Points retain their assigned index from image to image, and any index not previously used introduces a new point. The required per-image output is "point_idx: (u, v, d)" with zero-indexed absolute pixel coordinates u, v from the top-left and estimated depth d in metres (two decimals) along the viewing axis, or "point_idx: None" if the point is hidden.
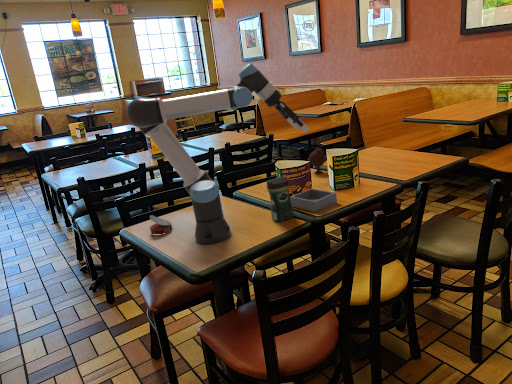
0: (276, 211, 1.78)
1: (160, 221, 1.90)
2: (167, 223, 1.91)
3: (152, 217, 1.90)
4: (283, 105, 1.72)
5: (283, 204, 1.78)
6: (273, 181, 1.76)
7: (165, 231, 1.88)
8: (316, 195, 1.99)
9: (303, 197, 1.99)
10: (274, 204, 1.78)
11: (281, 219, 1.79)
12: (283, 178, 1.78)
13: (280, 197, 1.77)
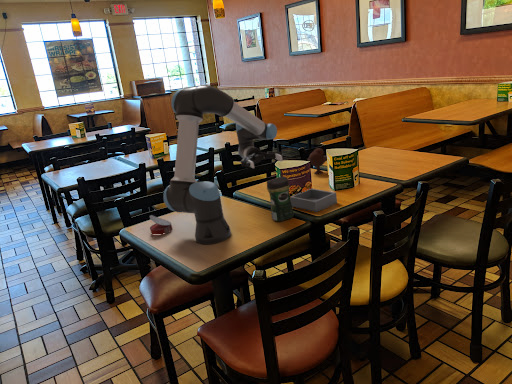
0: (276, 211, 1.78)
1: (160, 221, 1.90)
2: (167, 223, 1.91)
3: (152, 217, 1.90)
4: None
5: (283, 204, 1.78)
6: (273, 181, 1.76)
7: (165, 231, 1.88)
8: (316, 195, 1.99)
9: (303, 197, 1.99)
10: (274, 204, 1.78)
11: (281, 219, 1.79)
12: (283, 178, 1.78)
13: (280, 197, 1.77)
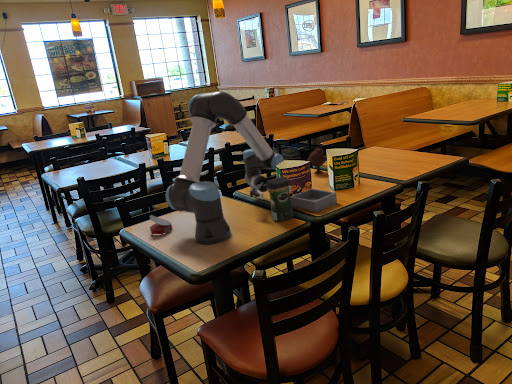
0: (276, 211, 1.78)
1: (160, 221, 1.90)
2: (167, 223, 1.91)
3: (152, 217, 1.90)
4: None
5: (283, 204, 1.78)
6: (273, 181, 1.76)
7: (165, 231, 1.88)
8: (316, 195, 1.99)
9: (303, 197, 1.99)
10: (274, 204, 1.78)
11: (281, 219, 1.79)
12: (283, 178, 1.78)
13: (280, 197, 1.77)
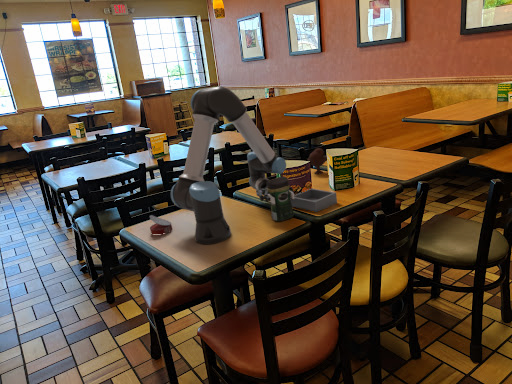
0: (276, 211, 1.78)
1: (160, 221, 1.90)
2: (167, 223, 1.91)
3: (152, 217, 1.90)
4: None
5: (283, 204, 1.78)
6: (273, 181, 1.76)
7: (165, 231, 1.88)
8: (316, 195, 1.99)
9: (303, 197, 1.99)
10: (274, 204, 1.78)
11: (281, 219, 1.79)
12: (283, 178, 1.78)
13: (280, 197, 1.77)
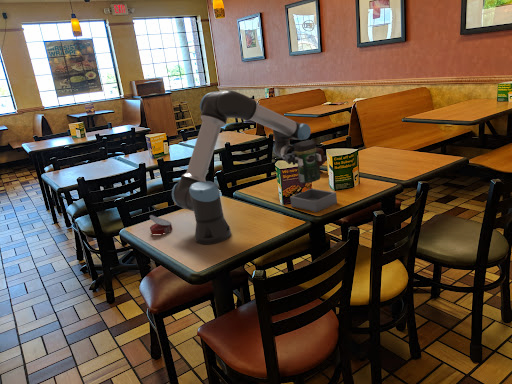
0: (304, 173, 1.84)
1: (160, 221, 1.90)
2: (167, 223, 1.91)
3: (152, 217, 1.90)
4: None
5: (310, 166, 1.84)
6: (301, 144, 1.82)
7: (165, 231, 1.88)
8: (316, 195, 1.99)
9: (303, 197, 1.99)
10: (301, 166, 1.84)
11: (308, 181, 1.85)
12: (310, 141, 1.84)
13: (307, 159, 1.83)
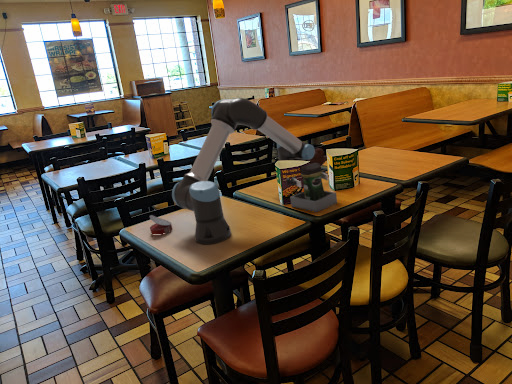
0: (310, 195, 1.89)
1: (160, 221, 1.90)
2: (167, 223, 1.91)
3: (152, 217, 1.90)
4: None
5: (316, 189, 1.88)
6: (307, 167, 1.87)
7: (165, 231, 1.88)
8: None
9: (303, 197, 1.99)
10: (308, 189, 1.89)
11: None
12: (316, 164, 1.88)
13: (313, 182, 1.87)
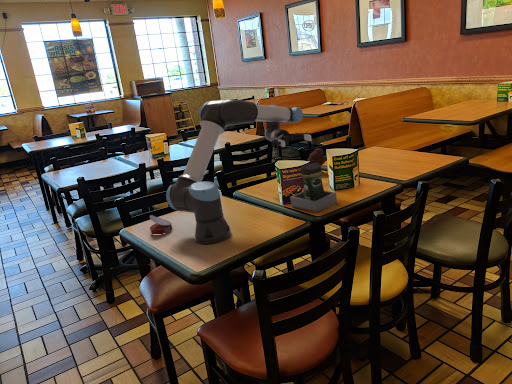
0: (310, 195, 1.89)
1: (160, 221, 1.90)
2: (167, 223, 1.91)
3: (152, 217, 1.90)
4: None
5: (316, 189, 1.88)
6: (307, 167, 1.87)
7: (165, 231, 1.88)
8: None
9: (303, 197, 1.99)
10: (308, 189, 1.89)
11: None
12: (316, 164, 1.88)
13: (314, 182, 1.87)
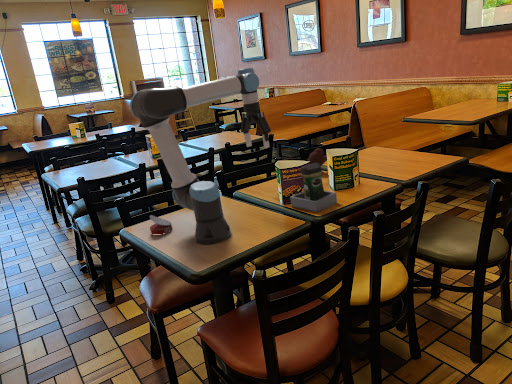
0: (310, 195, 1.89)
1: (160, 221, 1.90)
2: (167, 223, 1.91)
3: (152, 217, 1.90)
4: (262, 115, 1.89)
5: (316, 189, 1.88)
6: (307, 167, 1.87)
7: (165, 231, 1.88)
8: None
9: (303, 197, 1.99)
10: (308, 189, 1.89)
11: None
12: (316, 164, 1.88)
13: (314, 182, 1.87)
